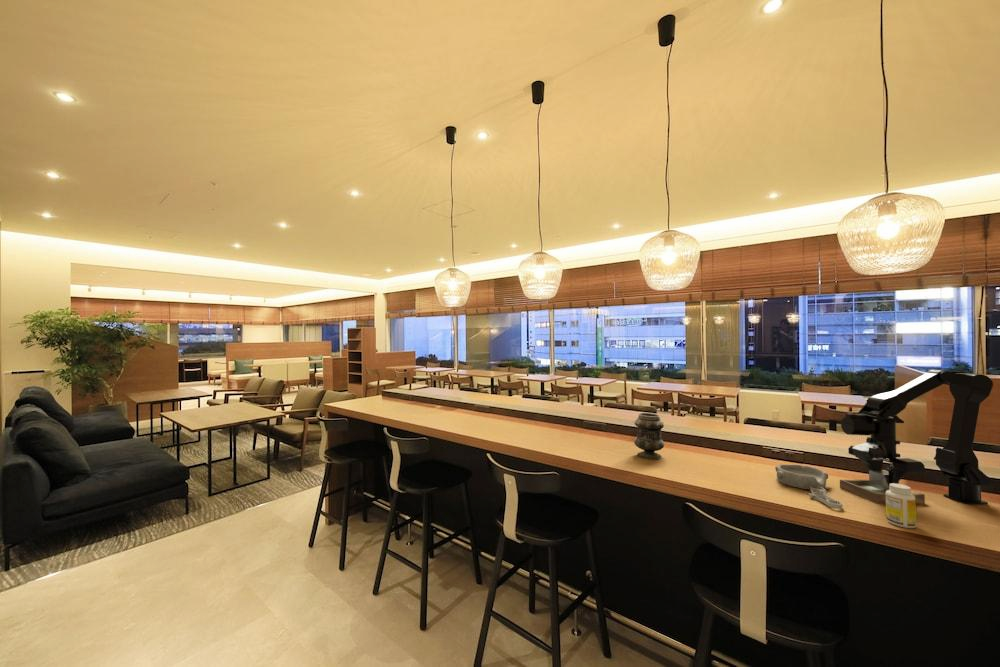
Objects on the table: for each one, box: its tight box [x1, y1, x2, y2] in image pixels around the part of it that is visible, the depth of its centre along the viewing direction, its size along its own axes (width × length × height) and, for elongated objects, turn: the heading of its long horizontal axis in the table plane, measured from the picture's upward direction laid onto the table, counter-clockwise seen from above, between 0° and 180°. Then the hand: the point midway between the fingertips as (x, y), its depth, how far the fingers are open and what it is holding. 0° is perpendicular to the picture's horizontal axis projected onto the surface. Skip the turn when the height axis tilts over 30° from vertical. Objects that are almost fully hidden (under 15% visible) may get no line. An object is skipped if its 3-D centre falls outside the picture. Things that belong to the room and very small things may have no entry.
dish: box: [774, 463, 829, 490], centre depth 130 cm, size 14×14×5 cm
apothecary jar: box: [633, 412, 665, 461], centre depth 162 cm, size 12×12×18 cm
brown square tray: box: [839, 479, 926, 505], centre depth 120 cm, size 14×13×3 cm
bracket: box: [808, 486, 843, 510], centre depth 117 cm, size 8×2×15 cm
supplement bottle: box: [885, 483, 917, 529], centre depth 101 cm, size 6×6×10 cm
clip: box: [868, 469, 900, 491], centre depth 121 cm, size 5×4×5 cm
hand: (884, 484), depth 120 cm, fingers closed on clip, 4 cm apart
